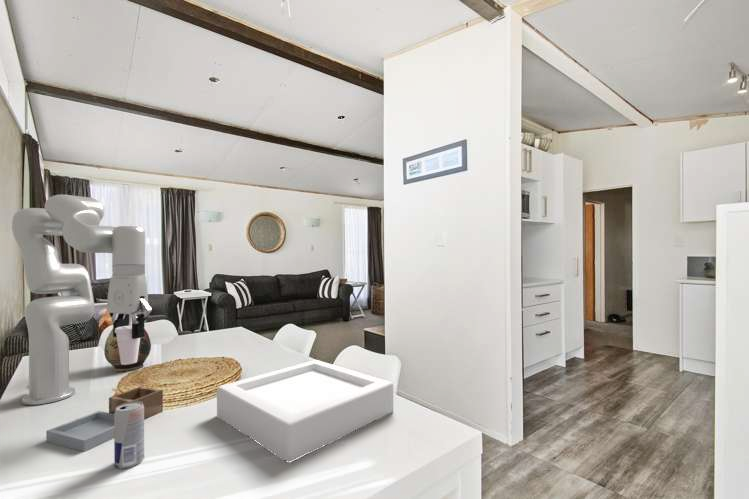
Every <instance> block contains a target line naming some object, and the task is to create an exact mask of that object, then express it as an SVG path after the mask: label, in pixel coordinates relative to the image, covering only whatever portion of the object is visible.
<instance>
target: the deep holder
mask: <svg viewBox="0 0 749 499" xmlns="http://www.w3.org/2000/svg"><path fill="white" fill-rule="evenodd" d="M163 392H164V390H163V389H158V388H151V387H147V386H137V387H134V388H132V389H130V390H127V391H124V392H122V393H119V394H115V395H113V396H109V397H108V413H111V414H114V413H115V410H116V408H117V407H118V406H120V405H122V404H125V403H129V402H142V403H143V406H144V421H145V420H147V419H149V418H152V417H153V416H156V415H158V414H160V413H163V412H164V411H163V410H164V403H163V402H164V400H163V398H164V396H163V395H164V393H163Z"/></svg>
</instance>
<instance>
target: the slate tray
mask: <svg viewBox="0 0 749 499" xmlns="http://www.w3.org/2000/svg"><path fill="white" fill-rule="evenodd" d="M45 432H46V436H45V437H46V442H48V443H51V444H56V445H59V446H63V447H66V448H71V449H74V450H77V451H81V452H87V451H89V450H91V449H93V448H96V447H98V446H100V445H102V444H104V443H106V442H108V441H112V440H114V414H111V413H109V412H107V411H101V410H98V411H97V410H96V411H95V412H93V413H89V414H88V415H84V416H81V417H79V418H76V419H74V420H70V421H69V422H66V423H63V424H61V425H58V426H55V427H53V428H49V429H48V430H46V431H45Z"/></svg>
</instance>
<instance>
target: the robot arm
mask: <svg viewBox="0 0 749 499" xmlns="http://www.w3.org/2000/svg"><path fill="white" fill-rule="evenodd" d="M104 216H105V209H104V206H103V203H101V202H100V201H99V200H98V199H96V198H95V197H94V198H93V197H89V196H80V195H79V196H78V195H71V194H56V195H52V196H50V197H49V198H48V199H47V200H45V203H44V208H41V207H29V208H28V207H25V208H21V209H19V210H17V211H16V212H15V213H14V215H13V216H12V220H11V231H12V235H13V237H14V239H15V242H16V244H17V245H18V247H19V249H20V252H21V255H22V261H23V262H22V263H23V268H24V276H25V280H26V285H27V288H28V290H29V291H30V292H31V293H33V294H37V295H43V294H45V295H46V294H57V293H58V294H59V293H68V295H57V296H55V295H54V296H47V297H39V298H37V299H33V300H32V301H30V302H28V303H27V305H26V306H25V308H24V318H25V322H26V327H27V333H28V384H27V386H26V389H27V390H28V394H26V395H25V396H24V397H23V398H22V399H21V403H22V404H23V405H25V406H27V405H28V406H36V405H37V406H38V405H45V404H50V403H55V402H58V401H62V400H64V399H67V398H69V397H72V396H73V395H74V394H75V393H76V388H75V387H72V386H70V339H69V336H68V335H67V334H66V333H65V332H64V331H63V329H61V327H63V326H68V325H74V324H79V323H81V324H82V323H86V322H88V321H90V320H91V319H92V318H93V317H94V314H95V309H96V308H95V299H94V294H93V287H92V283H91V276H90V274H89V272H88V269H87V268H86V267H85V266H84V265H81V264H78V263H62V262H60V259H59V252H58V250H57V248H56V247H55V245H54V244H53V243H52V242H50V240H48V239H47V238H46V237H44V236H59V237H60V236H63V240H64V241H65V243H67V244H68V245H69V246H70V247H71V248H73V249H74V250H76V251H78V252H81V253H85V254H105V253H106V254H111V256H112V257H111V260H112V261H111V268H112V269H111V277H110V279H109V283H108V290H107V291H108V292H107V300H106V301H107V302H106V303H107V307H106V310H107V311H108V313H109V316H110V318H111V323H112V329H113V337H117V335H116V333H115V328H118V327H122V326H126V321H123V320H124V318H125V315H126V314H131V315H132V318H133V322H134V324H132V339H136V338H141V337H144V329H145V323H146V322H147V319H148V317H149V315H151V313H152V310H153V309H152V307H151V306H150V305H149V293H148V292H149V291H148V283H147V278H146V232H145V229H144V228H143V227H140V226H132V225H119V226H111V225H109V226H108V225H100V223H101V221H102V220H103V218H104ZM120 314H121V315H120Z"/></svg>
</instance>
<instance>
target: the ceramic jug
mask: <svg viewBox="0 0 749 499" xmlns="http://www.w3.org/2000/svg"><path fill="white" fill-rule="evenodd" d="M120 315H121V314H120ZM123 321H126V326H129V314H126V315H125V318H124V320H123ZM132 324H134V322H133V318H132ZM103 350H104V351H103V353H104V357H105V359H106V361H107V362H108V363H109V364H110V365H111V366H112V367H114V371H115V372H123V371H132V370H137V369H141V368H143V367H142V366H144V363H145V361H146V360H147V358H148V357H149V356H150V354H151V350H152V343H151V339H150V336H149V333H148V331H147V330H146V329H145V328H144V337H141V338H140V344H139V351H138V359H137V362H136V363H133V364H127V365H122V364H121V361H120V354H119V348H118V342H117V337H113V328H112V329H111V331H110V332H109V334H108V336H107V337H106V340H105V344H104V349H103ZM140 367H141V368H140Z"/></svg>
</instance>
